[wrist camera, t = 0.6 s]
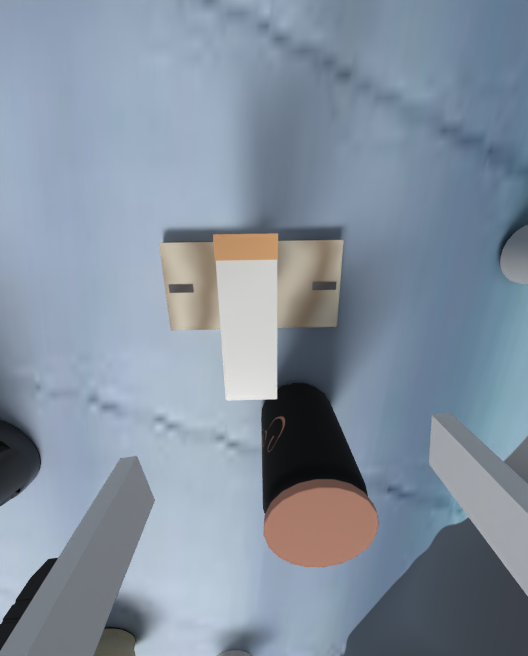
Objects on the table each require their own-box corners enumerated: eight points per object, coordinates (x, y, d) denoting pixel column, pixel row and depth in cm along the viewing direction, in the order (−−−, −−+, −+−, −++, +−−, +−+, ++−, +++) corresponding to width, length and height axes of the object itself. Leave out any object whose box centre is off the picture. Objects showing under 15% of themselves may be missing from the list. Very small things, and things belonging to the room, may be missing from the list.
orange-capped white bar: (236, 344, 31) (225, 400, 21) (230, 235, 27) (212, 234, 17) (271, 344, 31) (277, 399, 21) (270, 234, 27) (278, 233, 17)
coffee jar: (268, 373, 39) (276, 479, 22) (337, 385, 40) (396, 495, 23) (255, 432, 42) (253, 562, 25) (319, 441, 43) (359, 573, 26)
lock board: (174, 326, 36) (160, 341, 31) (163, 242, 33) (145, 243, 28) (333, 323, 37) (346, 337, 32) (339, 239, 33) (355, 240, 28)
